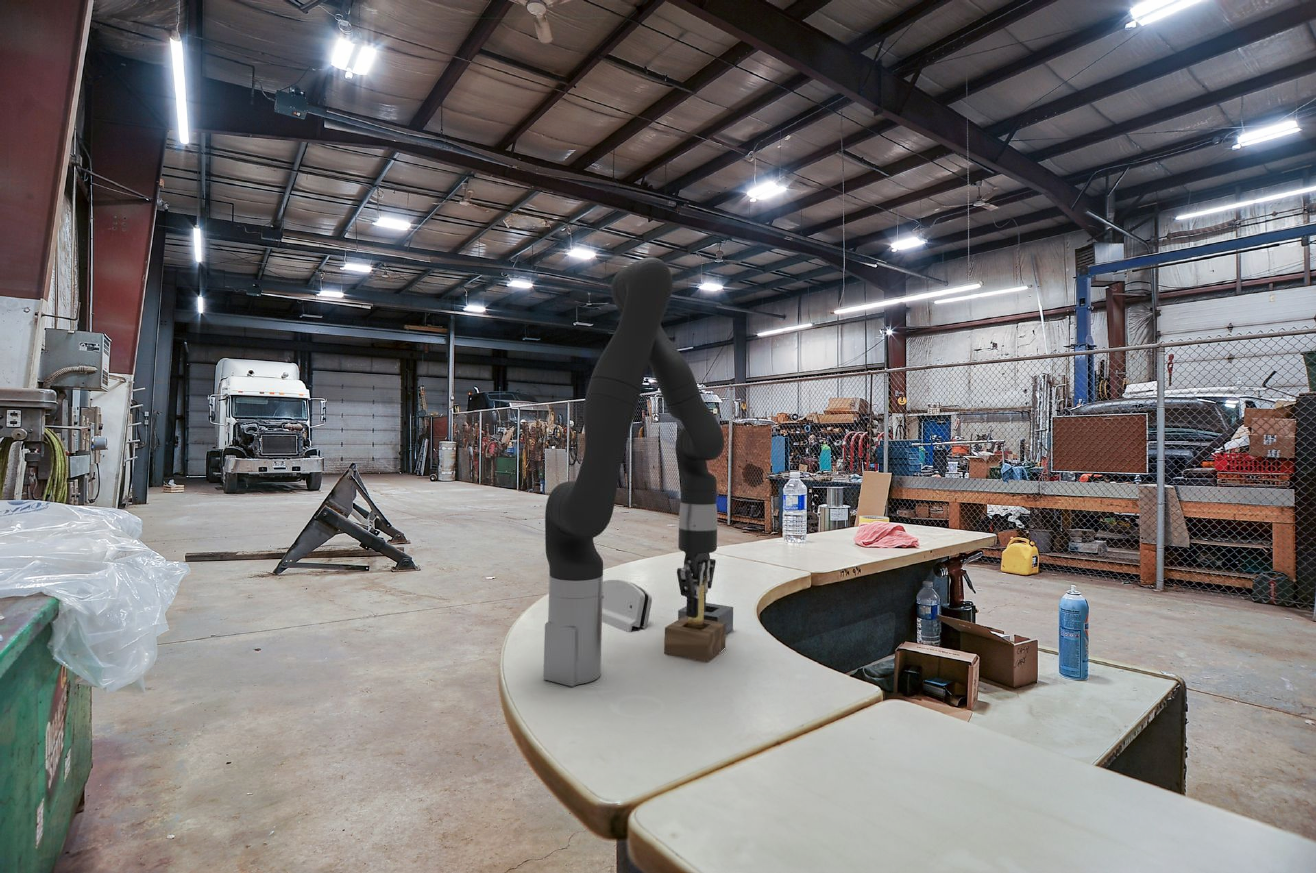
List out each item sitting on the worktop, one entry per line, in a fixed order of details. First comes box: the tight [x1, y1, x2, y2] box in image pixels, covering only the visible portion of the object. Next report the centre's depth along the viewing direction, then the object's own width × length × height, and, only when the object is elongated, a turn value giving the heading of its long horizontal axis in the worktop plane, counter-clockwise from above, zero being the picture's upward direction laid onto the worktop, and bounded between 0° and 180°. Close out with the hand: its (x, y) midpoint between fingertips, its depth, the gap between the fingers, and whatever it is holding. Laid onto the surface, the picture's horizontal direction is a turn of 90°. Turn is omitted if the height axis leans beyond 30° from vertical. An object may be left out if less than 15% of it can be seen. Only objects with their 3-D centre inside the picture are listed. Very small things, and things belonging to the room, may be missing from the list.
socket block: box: [677, 602, 734, 636], centre depth 129 cm, size 9×9×5 cm
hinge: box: [602, 579, 653, 633], centre depth 136 cm, size 17×5×10 cm, turn 42°
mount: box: [663, 616, 727, 663], centre depth 117 cm, size 9×9×5 cm
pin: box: [688, 583, 704, 630], centre depth 117 cm, size 3×3×13 cm
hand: (696, 614), depth 117 cm, fingers closed on pin, 3 cm apart
